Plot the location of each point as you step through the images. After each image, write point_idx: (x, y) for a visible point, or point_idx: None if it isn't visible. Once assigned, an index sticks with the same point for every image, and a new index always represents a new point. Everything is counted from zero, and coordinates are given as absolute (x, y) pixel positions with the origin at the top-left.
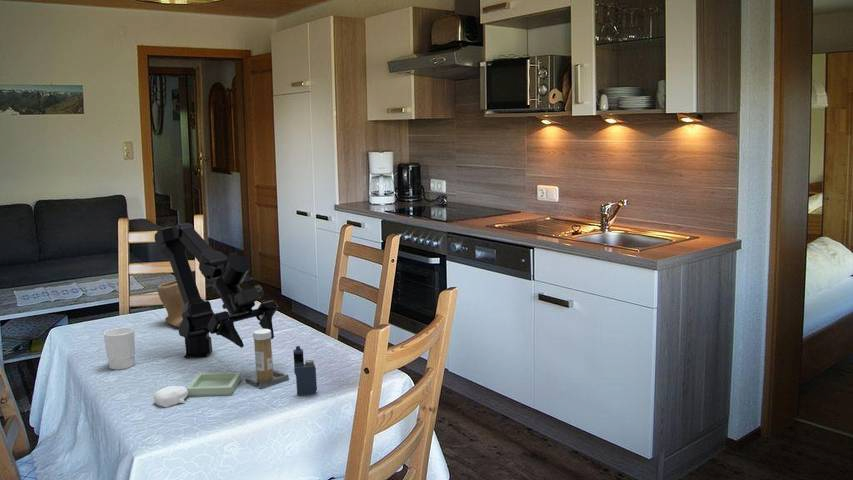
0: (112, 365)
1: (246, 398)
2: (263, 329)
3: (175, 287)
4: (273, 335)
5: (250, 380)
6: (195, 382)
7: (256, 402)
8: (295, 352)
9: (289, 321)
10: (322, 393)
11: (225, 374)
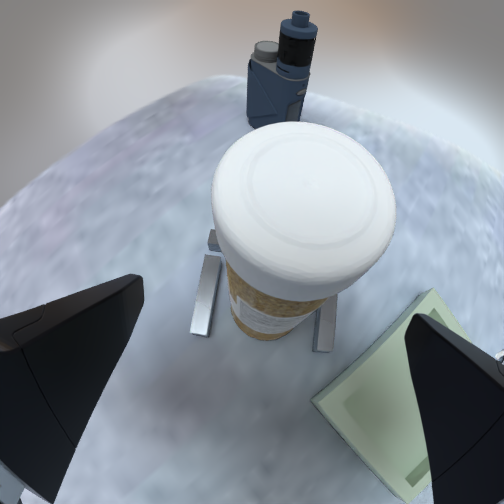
0: None
1: (403, 234)
2: (265, 205)
3: None
4: (125, 277)
5: (335, 314)
6: None
7: (397, 191)
8: (316, 28)
9: None
10: None
11: (365, 434)
